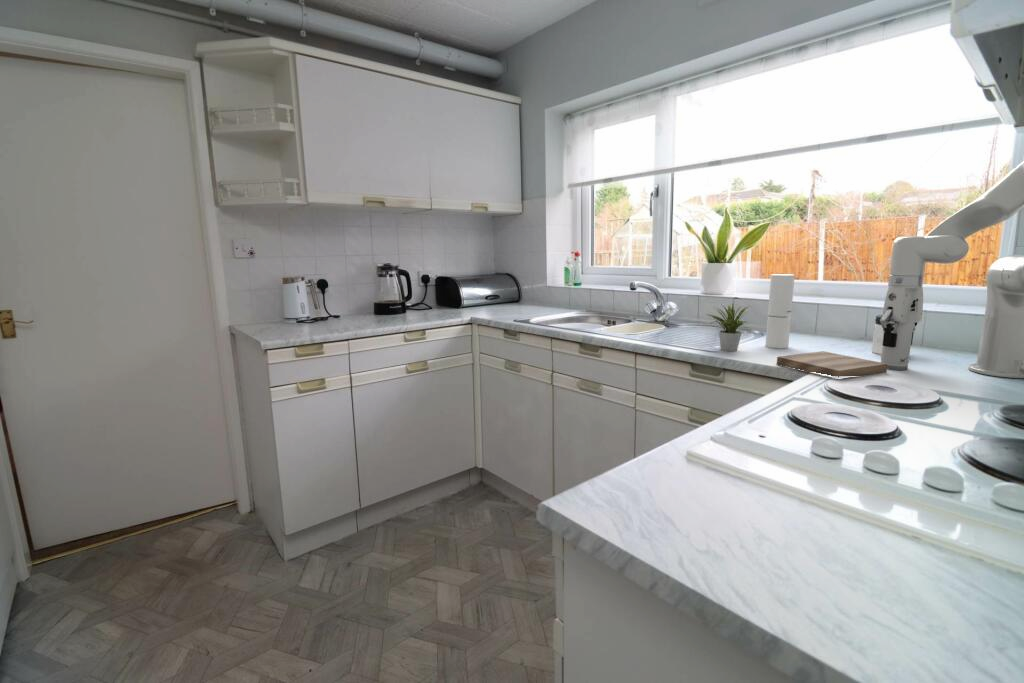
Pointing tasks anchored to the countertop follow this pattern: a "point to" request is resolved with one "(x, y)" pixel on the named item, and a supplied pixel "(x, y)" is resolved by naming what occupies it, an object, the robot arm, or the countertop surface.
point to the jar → (878, 336)
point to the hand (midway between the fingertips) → (897, 345)
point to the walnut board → (832, 364)
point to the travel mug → (900, 345)
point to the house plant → (729, 328)
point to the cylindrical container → (779, 310)
